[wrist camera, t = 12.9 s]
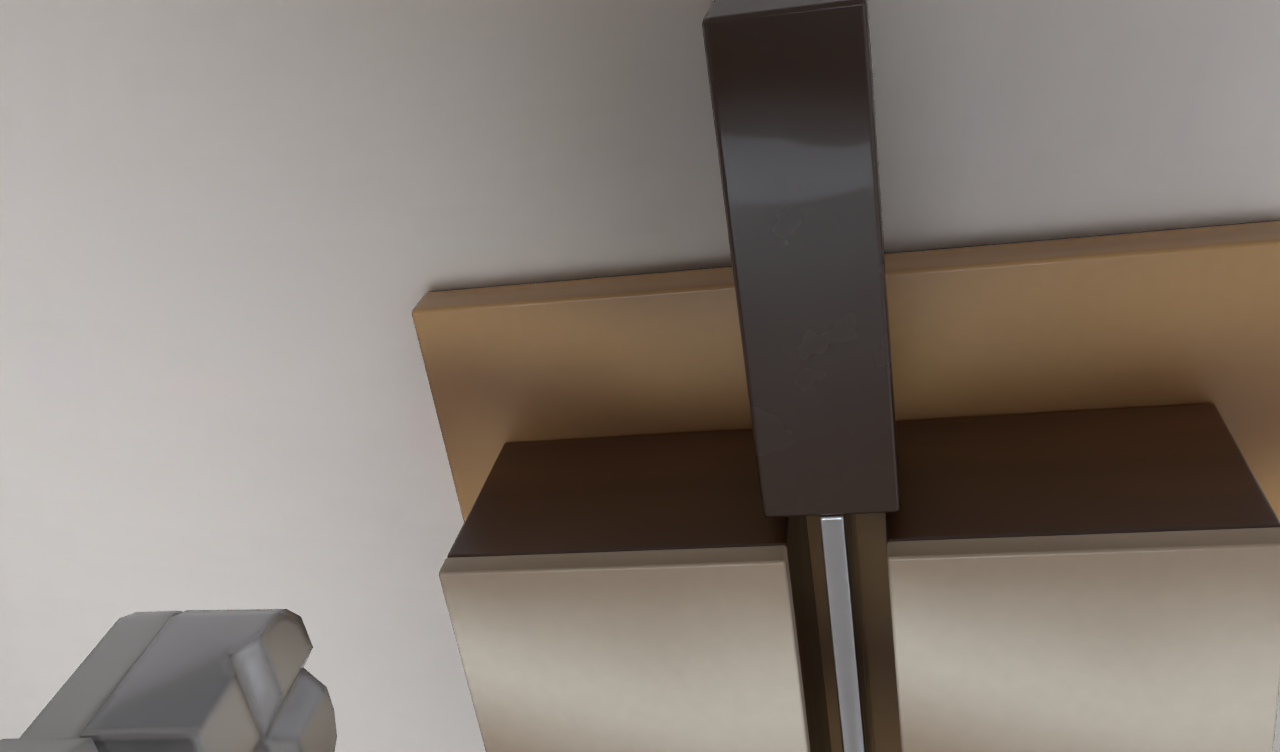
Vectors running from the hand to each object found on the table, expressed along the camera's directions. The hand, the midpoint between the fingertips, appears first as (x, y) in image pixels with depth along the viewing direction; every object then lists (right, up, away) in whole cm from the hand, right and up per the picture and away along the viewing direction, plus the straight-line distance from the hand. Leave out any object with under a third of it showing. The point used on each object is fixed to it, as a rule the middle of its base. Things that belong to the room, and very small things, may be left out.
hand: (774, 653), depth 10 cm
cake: (+4, -3, +16) cm, 17 cm away
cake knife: (+3, 0, +14) cm, 14 cm away
